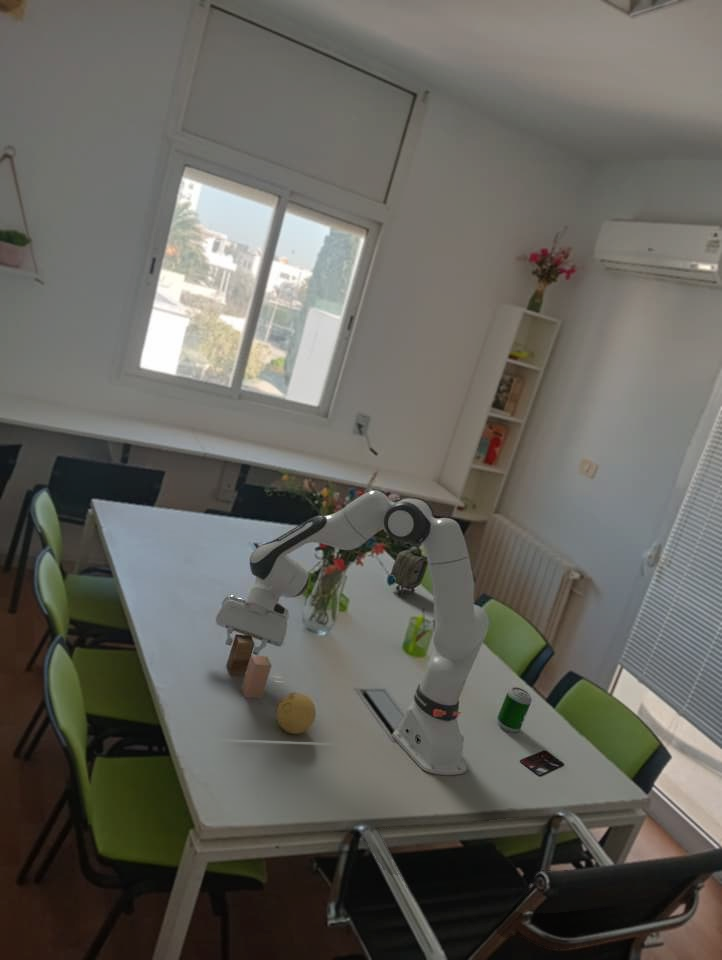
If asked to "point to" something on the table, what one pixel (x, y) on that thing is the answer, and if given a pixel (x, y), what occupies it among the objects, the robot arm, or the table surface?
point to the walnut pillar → (240, 655)
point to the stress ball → (296, 713)
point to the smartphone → (541, 763)
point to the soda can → (514, 709)
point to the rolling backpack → (409, 568)
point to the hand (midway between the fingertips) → (241, 649)
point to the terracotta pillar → (256, 677)
